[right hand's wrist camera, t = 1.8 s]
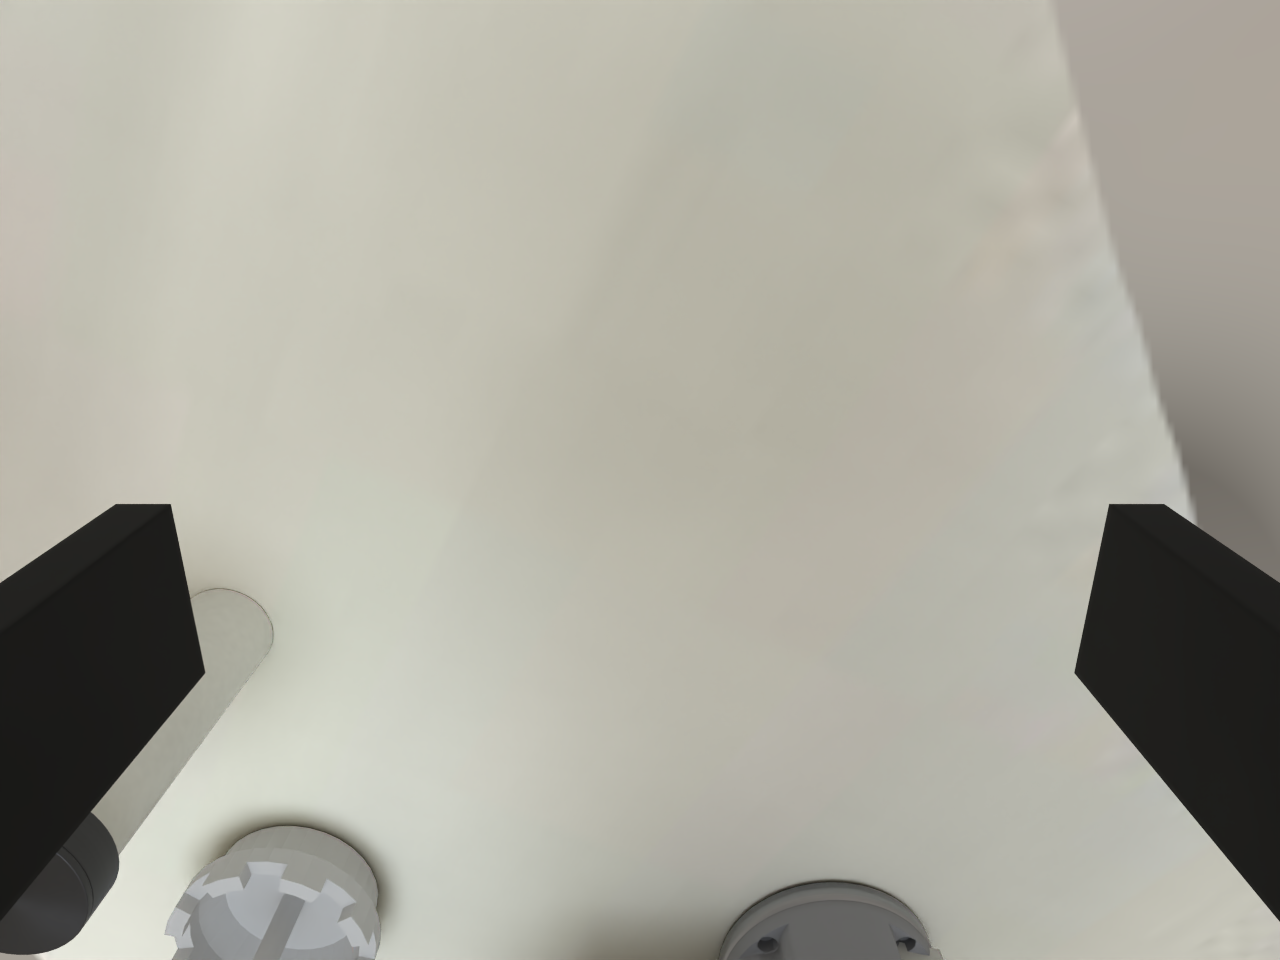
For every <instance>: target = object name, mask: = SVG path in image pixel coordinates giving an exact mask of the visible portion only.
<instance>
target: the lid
mask: <svg viewBox="0 0 1280 960" xmlns="http://www.w3.org/2000/svg"><path fill="white" fill-rule="evenodd" d="M118 871H119V855H118V851H117V847H116V844H115V842H114V840H113V837H112V836H111V834H110V833H109V831H108V829H107V828H106V827H105V826H104V824H103V823H102V822H101V821H100V820H99V819H98V818H97V817H96V816H95V815H94V814H93V813H92V812H90V813H89V815H88V816H87V817H86V818H85V820H84V821H83V822H82V823H81V824H80V826H79V827H78V828H77V829H76V830H75V832H74V833H73V834H72V835H71V836H70V838H69V839H68V840H67V841H66V843H65V844H64V845H63V846H62V847H61V849H60V850H59V851H58V852H57V853H56V855H55V856H54V857H53V858H52V859H51V861H50V862H49V863H48V864H47V866H46V867H45V868H44V869H43V870H42V872H41V873H40V874H39V875H38V876H37V878H36V879H35V880H34V881H33V882H32V884H31V885H30V886H29V887H28V889H27V890H26V891H25V892H24V893H23V895H22V896H21V897H20V898H19V899H18V901H17V902H16V903H15V904H14V905H13V907H12V908H11V909H10V910H9V912H8V913H7V914H6V915H5V916H4V918H3V919H2V920H1V921H0V952H1V953H6V954H16V955H30V954H39V953H44V952H48V951H51V950H54V949H57V948H59V947H61V946H63V945H65V944H67V943H68V942H69V941H71V940H72V939H73V938H74V937H75V936H76V935H77V934H79V932H80V931H81V929H82V928H83V927H84V925H85V924H86V922H87V921H88V920H89V918H90V917H91V915H92V914H93V913H94V911H95V910H96V908H97V907H98V906H99V904H100V903H101V901H102V900H103V899H104V897H105V896H106V894H107V893H108V892H109V890H110V889H111V887H112V886H113V884H114V882H115V880H116V878H117V874H118Z"/></svg>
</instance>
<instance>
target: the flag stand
mask: <svg viewBox="0 0 1280 960" xmlns="http://www.w3.org/2000/svg"><path fill="white" fill-rule="evenodd" d="M377 901H378V889H377V883H376V880H375V877H374V875H373V873H372V870H371V868H370V867H369V866H368V864H367V863H366V861H365V860H364V859H363V858H362V857H361V856H360V855H359V854H358V853H357V852H356V851H355V850H354V849H353V848H352V847H350V846H349V845H347V844H346V843H344V842H343V841H341V840H340V839H338V838H336V837H333V836H331V835H329V834H327V833H325V832H321V831H318V830H314V829H311V828H305V827H297V826H276V827H271V828H265V829H261V830H259V831H256V832H253V833H251V834H248V835H247V836H245V837H243V838H242V839H240V840H239V841H237V842H236V843H235V844H234V845H233V846H232V847H231V848H230V849H229V850H228V852H227V853H226V855H225V856H222V857H220V858H218V859H216V860H215V861H213V862H211V863H210V864H208V865H207V866H205V867H204V868H203V869H202V870H201V871H200V872H199V873H198V874H197V875H196V876H195V877H194V878H193V879H192V881H191V883H190V884H189V886H188V888H187V889H186V891H185V892H184V894H183V896H182V897H181V899H180V901H179V902H178V904H177V906H176V907H175V909H174V911H173V912H172V914H171V916H170V918H169V919H168V922H167V926H166V930H165V934H164V935H169V936H174V937H175V940H176V944H177V947H178V950H177V952H176V953H175V955H174V957H173V958H172V960H375V957H376V954H377V951H378V948H379V945H380V936H381V927H380V921H379V916H378V913H377V911H376V907H377Z"/></svg>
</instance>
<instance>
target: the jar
mask: <svg viewBox="0 0 1280 960" xmlns="http://www.w3.org/2000/svg"><path fill="white" fill-rule="evenodd" d="M190 600H191V605H192V610H193V614H194V619H195V624H196V629H197V634H198V639H199V644H200V648H201V653H202V658H203V663H204V668H205V674H204V675H203V677H202V678H201V679H200V680H199V682H198V683H197V684H196V685H195V686H194V688H193V689H192V690H191V691H190V692H189V694H188V695H187V696H186V697H185V698H184V700H183V701H182V702H181V703H180V705H179V706H178V707H177V708H176V709H175V711H174V712H173V713H172V714H171V715H170V717H169V718H168V719H167V720H166V721H165V723H164V724H163V725H162V726H161V728H160V729H159V730H158V731H157V732H156V734H155V735H154V736H153V737H152V738H151V740H150V741H149V742H148V743H147V744H146V746H145V747H144V748H143V749H142V751H141V752H140V753H139V754H138V755H137V757H136V758H135V759H134V760H133V761H132V763H131V764H130V765H129V766H128V767H127V769H126V770H125V771H124V772H123V774H122V775H121V776H120V777H119V778H118V780H117V781H116V782H115V783H114V784H113V786H112V787H111V788H110V789H109V790H108V792H107V793H106V794H105V795H104V797H103V798H102V799H101V800H100V801H99V803H98V804H97V805H96V806H95V807H94V809H93V810H92V811H91V812H92V813H93V814H94V815H95V816H96V817H97V818H98V819H99V820H100V821H101V822H102V823H103V824H104V826H105V827H106V828H107V829H108V831H109V833H110V834H111V836H112V837H113V840H114V842H115V844H116V847H117V851H118V855H119V854H120V853H121V852H122V850H123V849H124V847H125V846H126V845H127V843H128V842H129V841H130V839H131V838H132V837H133V835H134V834H135V833H136V831H137V830H138V828H139V827H140V826H141V824H142V823H143V822H144V820H145V819H146V818H147V816H148V815H149V813H150V812H151V811H152V809H153V808H154V807H155V805H156V804H157V803H158V801H159V800H160V799H161V797H162V796H163V794H164V793H165V792H166V790H167V789H168V788H169V786H170V785H171V784H172V782H173V781H174V780H175V778H176V777H177V775H178V774H179V773H180V771H181V770H182V769H183V767H184V766H185V765H186V763H187V762H188V760H189V759H190V758H191V756H192V755H193V754H194V752H195V751H196V750H197V748H198V747H199V746H200V744H201V743H202V741H203V740H204V739H205V737H206V736H207V735H208V733H209V732H210V731H211V729H212V728H213V727H214V725H215V724H216V722H217V721H218V720H219V718H220V717H221V716H222V714H223V713H224V712H225V710H226V709H227V708H228V706H229V705H230V703H231V702H232V701H233V699H234V698H235V697H236V695H237V694H238V693H239V691H240V690H241V688H242V687H243V686H244V684H245V683H246V682H247V680H248V679H249V678H250V676H251V675H252V674H253V672H254V671H255V669H256V668H257V667H258V665H259V664H260V663H261V661H262V660H263V659H264V657H265V656H266V654H267V653H268V652H269V650H270V648H271V645H272V640H273V630H272V625H271V622H270V620H269V618H268V616H267V614H266V613H265V611H264V610H263V609H262V608H261V607H260V606H259V605H258V604H257V603H256V602H255V601H253V600H252V599H251V598H249V597H247V596H245V595H243V594H241V593H239V592H236V591H232V590H226V589H213V590H208V591H204V592H202V593H199V594H197V595H196V596H194V597H193V598H192V599H190Z"/></svg>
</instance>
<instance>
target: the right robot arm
mask: <svg viewBox="0 0 1280 960" xmlns="http://www.w3.org/2000/svg"><path fill="white" fill-rule="evenodd" d="M204 674H205V668H204V663H203V658H202V653H201V648H200V644H199V639H198V634H197V629H196V624H195V619H194V614H193V610H192V605H191V600H190V595H189V590H188V585H187V581H186V576H185V571H184V566H183V561H182V556H181V552H180V547H179V542H178V537H177V532H176V527H175V523H174V518H173V513H172V508H171V504H115V505H114V506H113V507H111V508H110V509H108V510H107V511H105V512H104V513H102V514H101V515H99V516H98V517H96V518H95V519H93V520H92V521H91V522H89V523H88V524H86V525H85V526H83V527H82V528H80V529H79V530H77V531H76V532H74V533H73V534H71V535H70V536H68V537H67V538H66V539H64V540H63V541H61V542H60V543H58V544H57V545H55V546H54V547H52V548H51V549H49V550H48V551H46V552H45V553H44V554H42V555H41V556H39V557H38V558H36V559H35V560H33V561H32V562H30V563H29V564H27V565H26V566H24V567H23V568H22V569H20V570H19V571H17V572H16V573H14V574H13V575H11V576H10V577H8V578H7V579H5V580H4V581H2V582H1V583H0V921H1V920H2V919H3V918H4V916H5V915H6V914H7V913H8V912H9V910H10V909H11V908H12V907H13V905H14V904H15V903H16V902H17V901H18V899H19V898H20V897H21V896H22V895H23V893H24V892H25V891H26V890H27V889H28V887H29V886H30V885H31V884H32V882H33V881H34V880H35V879H36V878H37V876H38V875H39V874H40V873H41V872H42V870H43V869H44V868H45V867H46V866H47V864H48V863H49V862H50V861H51V859H52V858H53V857H54V856H55V855H56V853H57V852H58V851H59V850H60V849H61V847H62V846H63V845H64V844H65V843H66V841H67V840H68V839H69V838H70V836H71V835H72V834H73V833H74V832H75V830H76V829H77V828H78V827H79V826H80V824H81V823H82V822H83V821H84V820H85V818H86V817H87V816H88V815H89V813H90V812H91V811H92V810H93V809H94V807H95V806H96V805H97V804H98V803H99V801H100V800H101V799H102V798H103V797H104V795H105V794H106V793H107V792H108V790H109V789H110V788H111V787H112V786H113V784H114V783H115V782H116V781H117V780H118V778H119V777H120V776H121V775H122V774H123V772H124V771H125V770H126V769H127V767H128V766H129V765H130V764H131V763H132V761H133V760H134V759H135V758H136V757H137V755H138V754H139V753H140V752H141V751H142V749H143V748H144V747H145V746H146V744H147V743H148V742H149V741H150V740H151V738H152V737H153V736H154V735H155V734H156V732H157V731H158V730H159V729H160V728H161V726H162V725H163V724H164V723H165V721H166V720H167V719H168V718H169V717H170V715H171V714H172V713H173V712H174V711H175V709H176V708H177V707H178V706H179V705H180V703H181V702H182V701H183V700H184V698H185V697H186V696H187V695H188V694H189V692H190V691H191V690H192V689H193V688H194V686H195V685H196V684H197V683H198V682H199V680H200V679H201V678H202V677H203V675H204ZM1075 674H1076V675H1077V677H1078V678H1079V679H1080V680H1081V682H1082V683H1083V684H1084V685H1085V686H1086V688H1087V689H1088V690H1089V691H1090V692H1091V694H1092V695H1093V696H1094V697H1095V698H1096V700H1097V701H1098V702H1099V703H1100V705H1101V706H1102V707H1103V708H1104V709H1105V711H1106V712H1107V713H1108V714H1109V715H1110V717H1111V718H1112V719H1113V720H1114V721H1115V723H1116V724H1117V725H1118V726H1119V728H1120V729H1121V730H1122V731H1123V732H1124V734H1125V735H1126V736H1127V737H1128V738H1129V740H1130V741H1131V742H1132V743H1133V744H1134V746H1135V747H1136V748H1137V749H1138V751H1139V752H1140V753H1141V754H1142V755H1143V757H1144V758H1145V759H1146V760H1147V761H1148V763H1149V764H1150V765H1151V766H1152V767H1153V769H1154V770H1155V771H1156V772H1157V774H1158V775H1159V776H1160V777H1161V778H1162V780H1163V781H1164V782H1165V783H1166V784H1167V786H1168V787H1169V788H1170V789H1171V790H1172V792H1173V793H1174V794H1175V795H1176V797H1177V798H1178V799H1179V800H1180V801H1181V803H1182V804H1183V805H1184V806H1185V807H1186V809H1187V810H1188V811H1189V812H1190V813H1191V815H1192V816H1193V817H1194V818H1195V820H1196V821H1197V822H1198V823H1199V824H1200V826H1201V827H1202V828H1203V829H1204V830H1205V832H1206V833H1207V834H1208V835H1209V836H1210V838H1211V839H1212V840H1213V841H1214V843H1215V844H1216V845H1217V846H1218V847H1219V849H1220V850H1221V851H1222V852H1223V853H1224V855H1225V856H1226V857H1227V858H1228V859H1229V861H1230V862H1231V863H1232V864H1233V866H1234V867H1235V868H1236V869H1237V870H1238V872H1239V873H1240V874H1241V875H1242V876H1243V878H1244V879H1245V880H1246V881H1247V882H1248V884H1249V885H1250V886H1251V887H1252V889H1253V890H1254V891H1255V892H1256V893H1257V895H1258V896H1259V897H1260V898H1261V899H1262V901H1263V902H1264V903H1265V904H1266V905H1267V907H1268V908H1269V909H1270V910H1271V912H1272V913H1273V914H1274V915H1275V916H1276V918H1277V919H1278V920H1279V921H1280V583H1279V582H1278V581H1276V580H1275V579H1273V578H1272V577H1270V576H1269V575H1267V574H1266V573H1264V572H1263V571H1261V570H1260V569H1258V568H1257V567H1256V566H1254V565H1253V564H1251V563H1250V562H1248V561H1247V560H1245V559H1244V558H1242V557H1241V556H1239V555H1238V554H1236V553H1235V552H1233V551H1232V550H1231V549H1229V548H1228V547H1226V546H1225V545H1223V544H1222V543H1220V542H1219V541H1217V540H1216V539H1214V538H1213V537H1212V536H1210V535H1209V534H1207V533H1206V532H1204V531H1203V530H1201V529H1200V528H1198V527H1197V526H1195V525H1194V524H1192V523H1191V522H1189V521H1188V520H1187V519H1185V518H1184V517H1182V516H1181V515H1179V514H1178V513H1176V512H1175V511H1173V510H1172V509H1170V508H1169V507H1167V506H1166V505H1165V504H1109V508H1108V513H1107V518H1106V523H1105V527H1104V532H1103V537H1102V542H1101V547H1100V552H1099V556H1098V561H1097V566H1096V571H1095V576H1094V581H1093V585H1092V590H1091V595H1090V600H1089V605H1088V610H1087V614H1086V619H1085V624H1084V629H1083V634H1082V639H1081V644H1080V648H1079V653H1078V658H1077V663H1076V668H1075ZM719 960H943V958H942V955H941V952H940V950H938V949H933V948H931V945H930V942H929V939H928V937H927V934H926V932H925V930H924V927H923V926H922V924H921V922H920V921H919V919H918V918H917V917H916V916H915V914H914V913H913V912H912V911H911V910H910V909H909V908H908V907H906V906H905V905H904V904H903V903H901V902H900V901H898V900H897V899H895V898H893V897H892V896H890V895H888V894H886V893H884V892H881V891H879V890H876V889H873V888H870V887H866V886H862V885H857V884H851V883H840V882H825V883H814V884H807V885H802V886H798V887H794V888H790V889H787V890H784V891H782V892H779V893H777V894H774V895H772V896H770V897H768V898H766V899H765V900H763V901H761V902H759V903H758V904H756V905H755V906H753V907H752V908H751V909H750V910H748V911H747V912H746V913H745V914H744V915H743V916H742V917H741V918H739V920H738V921H737V922H736V923H735V924H734V925H733V927H732V928H731V930H730V931H729V933H728V934H727V936H726V938H725V940H724V942H723V945H722V948H721V952H720V956H719Z"/></svg>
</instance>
